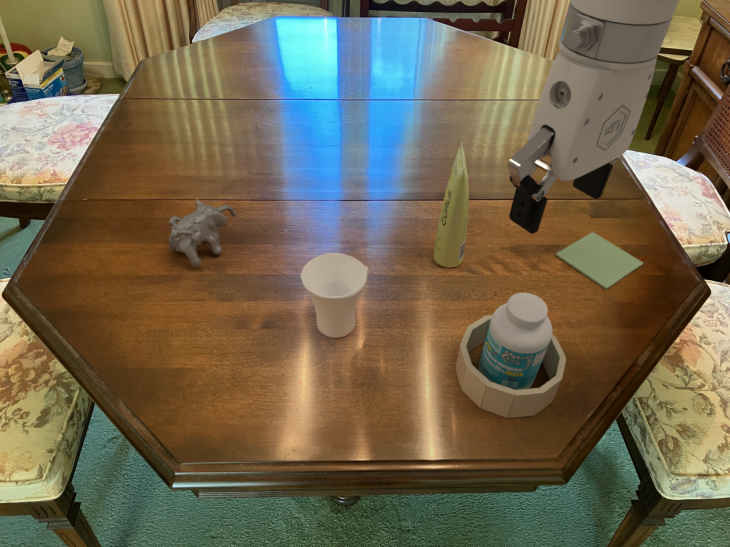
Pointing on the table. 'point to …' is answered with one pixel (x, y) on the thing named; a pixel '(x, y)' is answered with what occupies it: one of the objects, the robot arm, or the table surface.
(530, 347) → the pill bottle
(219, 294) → the table surface
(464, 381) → the polygonal ring band
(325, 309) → the cup
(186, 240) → the elephant statuette
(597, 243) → the mat
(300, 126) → the table surface
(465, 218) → the tube
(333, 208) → the table surface
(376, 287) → the table surface
